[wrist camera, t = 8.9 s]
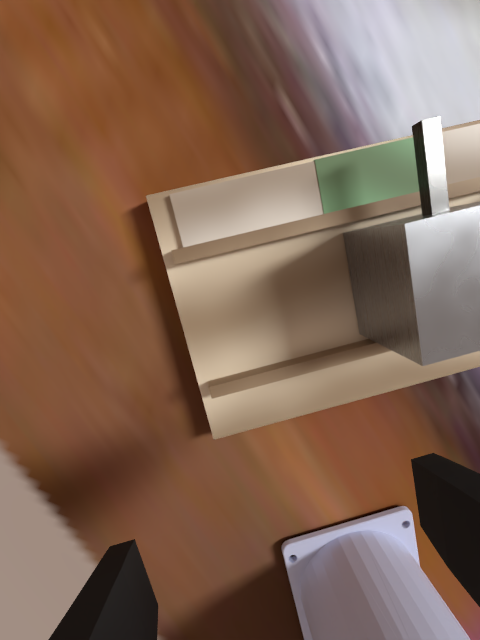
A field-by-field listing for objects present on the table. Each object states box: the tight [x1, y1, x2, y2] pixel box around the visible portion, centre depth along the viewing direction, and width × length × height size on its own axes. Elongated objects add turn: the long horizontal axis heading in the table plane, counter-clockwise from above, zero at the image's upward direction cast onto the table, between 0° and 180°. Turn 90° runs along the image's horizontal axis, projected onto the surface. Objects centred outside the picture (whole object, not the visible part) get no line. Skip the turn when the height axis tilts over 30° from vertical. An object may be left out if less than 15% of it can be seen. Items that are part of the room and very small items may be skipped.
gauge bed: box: [146, 120, 480, 439], centre depth 15 cm, size 12×22×6 cm, turn 103°
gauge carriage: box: [343, 116, 480, 366], centre depth 14 cm, size 8×5×5 cm, turn 13°
